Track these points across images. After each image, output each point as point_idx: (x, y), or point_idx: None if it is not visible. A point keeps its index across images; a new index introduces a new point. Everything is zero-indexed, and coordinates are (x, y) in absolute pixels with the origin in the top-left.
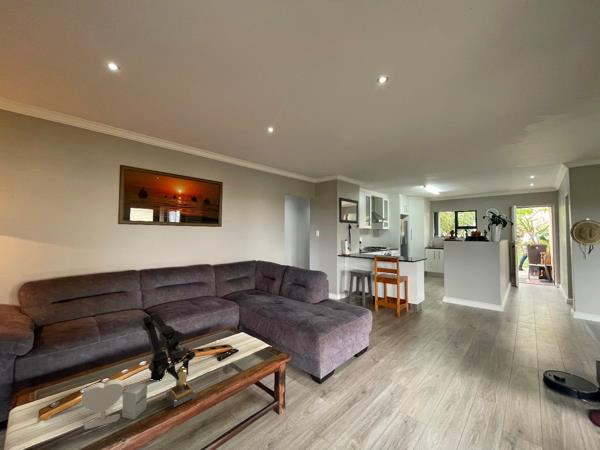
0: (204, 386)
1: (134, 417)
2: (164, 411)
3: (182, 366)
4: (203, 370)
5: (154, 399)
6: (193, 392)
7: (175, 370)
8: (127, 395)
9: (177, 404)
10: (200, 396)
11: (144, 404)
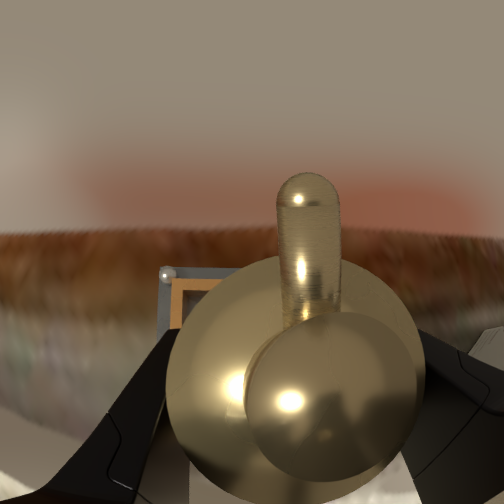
0: (65, 347)
1: (491, 328)
2: None
3: (300, 449)
4: (22, 494)
5: None
6: (174, 270)
7: (470, 392)
8: None
9: None
10: (135, 266)
11: None
